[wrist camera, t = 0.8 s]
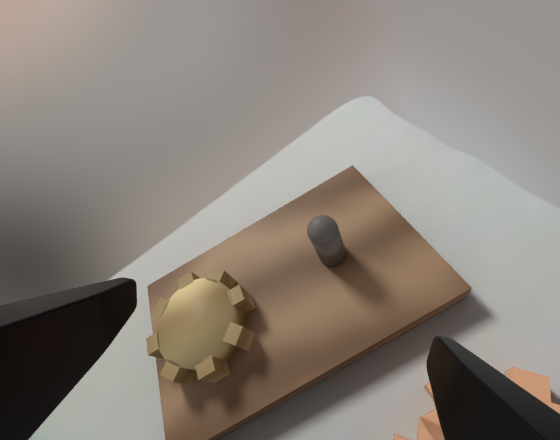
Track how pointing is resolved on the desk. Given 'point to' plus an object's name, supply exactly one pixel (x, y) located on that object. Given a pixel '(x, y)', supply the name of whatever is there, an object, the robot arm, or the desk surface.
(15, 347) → the robot arm
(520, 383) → the gear
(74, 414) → the desk surface
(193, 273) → the carrier
